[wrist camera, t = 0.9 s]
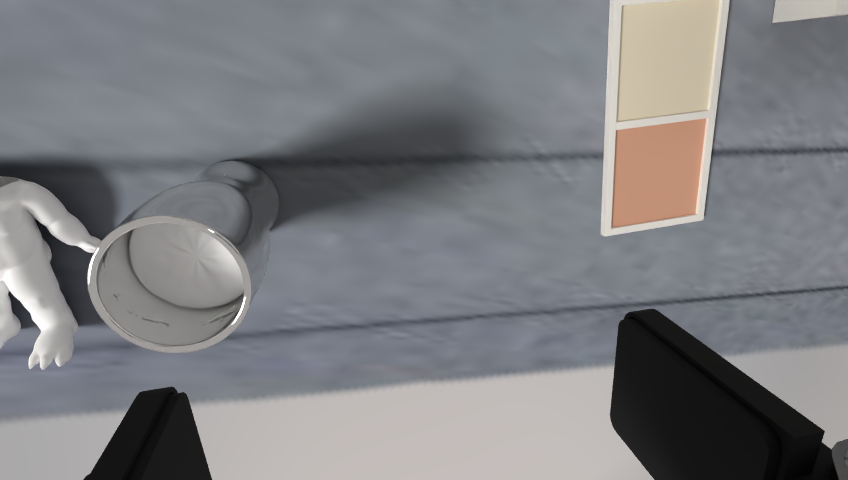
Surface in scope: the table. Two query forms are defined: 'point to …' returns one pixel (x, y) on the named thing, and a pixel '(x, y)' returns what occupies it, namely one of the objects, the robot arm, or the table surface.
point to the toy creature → (36, 267)
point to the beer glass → (187, 260)
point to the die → (808, 9)
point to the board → (660, 111)
